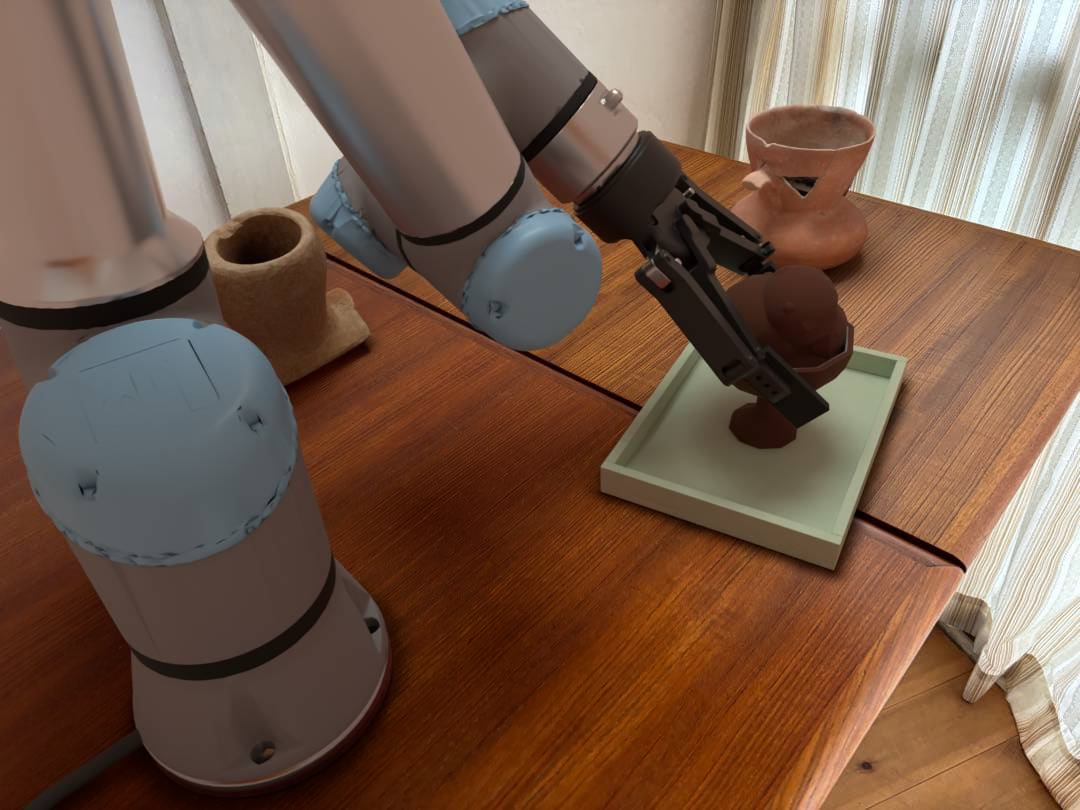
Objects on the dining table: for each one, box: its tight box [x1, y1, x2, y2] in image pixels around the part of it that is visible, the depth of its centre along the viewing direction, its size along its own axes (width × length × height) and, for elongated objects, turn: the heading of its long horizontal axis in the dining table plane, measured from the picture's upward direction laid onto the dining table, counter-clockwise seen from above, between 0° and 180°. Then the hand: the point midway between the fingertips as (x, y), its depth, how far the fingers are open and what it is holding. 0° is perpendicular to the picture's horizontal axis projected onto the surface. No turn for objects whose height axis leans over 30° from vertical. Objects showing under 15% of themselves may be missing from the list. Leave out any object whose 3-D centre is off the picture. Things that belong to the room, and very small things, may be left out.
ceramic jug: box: [730, 103, 877, 271], centre depth 88 cm, size 18×14×14 cm
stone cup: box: [204, 206, 372, 387], centre depth 76 cm, size 15×12×15 cm
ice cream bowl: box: [725, 265, 855, 449], centre depth 64 cm, size 11×11×15 cm
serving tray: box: [599, 341, 909, 571], centre depth 68 cm, size 24×18×3 cm
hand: (811, 367), depth 64 cm, fingers closed on ice cream bowl, 11 cm apart
